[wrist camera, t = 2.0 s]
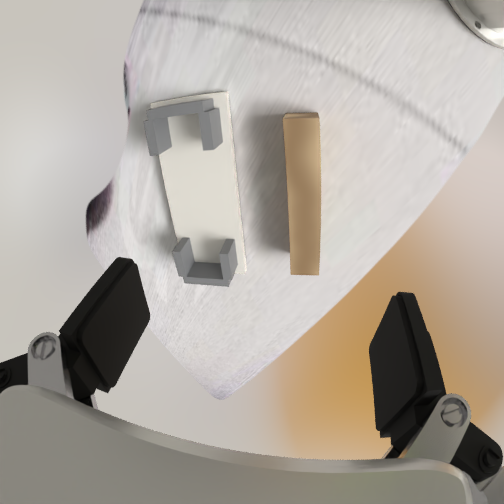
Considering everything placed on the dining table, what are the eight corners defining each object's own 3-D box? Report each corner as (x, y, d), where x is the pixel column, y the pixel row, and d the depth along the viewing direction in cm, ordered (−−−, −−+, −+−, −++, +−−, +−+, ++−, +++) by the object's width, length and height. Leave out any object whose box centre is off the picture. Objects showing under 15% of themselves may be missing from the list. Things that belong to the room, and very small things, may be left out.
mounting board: (228, 91, 24) (215, 93, 21) (246, 269, 36) (239, 290, 33) (154, 102, 26) (134, 107, 23) (187, 265, 38) (176, 285, 34)
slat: (317, 112, 24) (319, 118, 21) (318, 253, 33) (318, 275, 30) (286, 113, 25) (282, 118, 22) (293, 253, 34) (290, 274, 31)
